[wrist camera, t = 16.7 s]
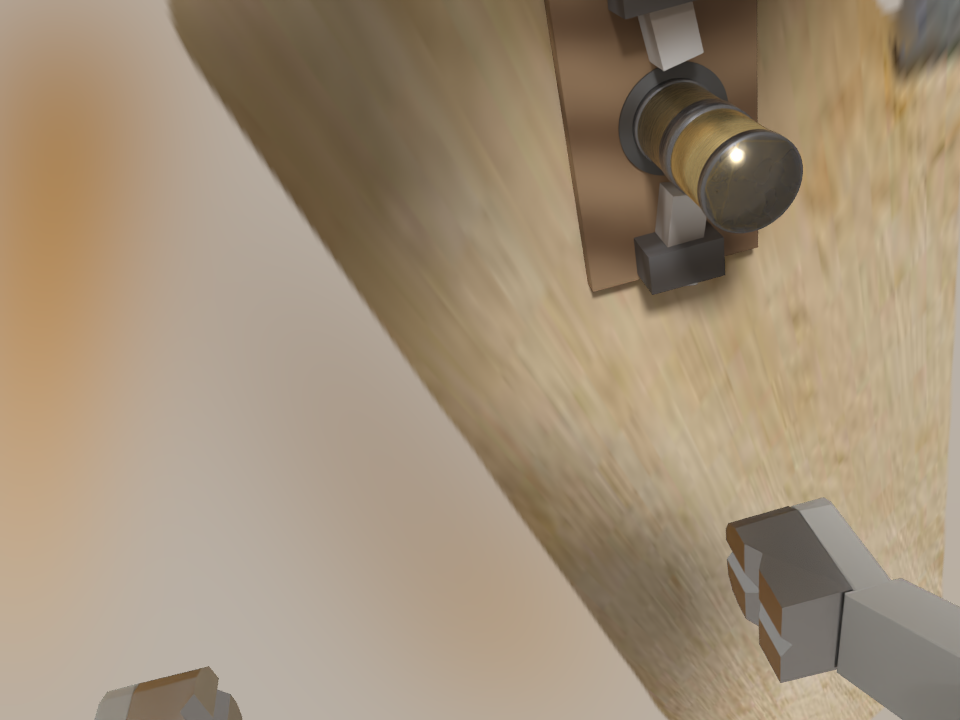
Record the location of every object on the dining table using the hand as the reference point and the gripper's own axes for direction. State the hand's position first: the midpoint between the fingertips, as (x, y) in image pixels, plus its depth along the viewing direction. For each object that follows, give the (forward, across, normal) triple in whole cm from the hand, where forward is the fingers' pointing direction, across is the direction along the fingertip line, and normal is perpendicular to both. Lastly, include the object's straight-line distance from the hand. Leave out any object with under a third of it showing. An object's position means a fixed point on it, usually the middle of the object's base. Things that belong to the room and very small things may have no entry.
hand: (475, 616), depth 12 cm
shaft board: (+35, +15, -6) cm, 39 cm away
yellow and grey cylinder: (+34, +15, -6) cm, 38 cm away
